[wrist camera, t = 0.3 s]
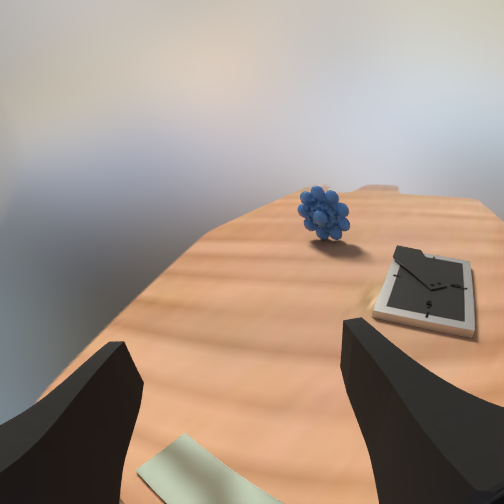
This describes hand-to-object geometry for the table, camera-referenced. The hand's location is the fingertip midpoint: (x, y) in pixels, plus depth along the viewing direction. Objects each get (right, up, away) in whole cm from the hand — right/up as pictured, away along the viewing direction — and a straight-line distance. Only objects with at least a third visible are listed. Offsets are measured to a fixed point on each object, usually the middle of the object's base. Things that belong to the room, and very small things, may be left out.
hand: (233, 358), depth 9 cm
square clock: (+30, -4, +34) cm, 46 cm away
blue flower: (+16, +6, +55) cm, 58 cm away
